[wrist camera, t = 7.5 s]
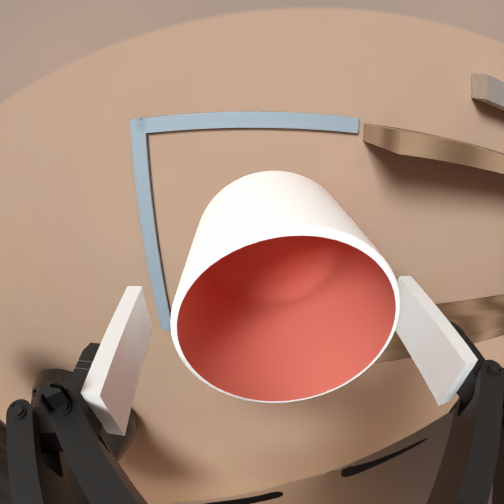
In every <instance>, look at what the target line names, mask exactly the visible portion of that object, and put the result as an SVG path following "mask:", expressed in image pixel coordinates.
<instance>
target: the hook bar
mask: <svg viewBox="0 0 504 504" xmlns="http://www.w3.org/2000/svg"><path fill="white" fill-rule="evenodd" d="M471 98H473V99H476V100H479V101H481V102H484V103H486V104H488V105H491V106H493V107H496V108H498V109H500V110H502V111H504V83H503V82H501V81H499V80H497V79H495V78H493V77H491V76H489V75H485V74H471Z"/></svg>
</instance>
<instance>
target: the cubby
mask: <svg viewBox="0 0 504 504" xmlns="http://www.w3.org/2000/svg"><path fill="white" fill-rule="evenodd" d="M363 141H365V142H368V143H370V144H373V145H376V146H379V147H381V148H384V149H387V150H389V151H392V152H394V153H397V154H401V155H409V156H415V157H422V158H428V159H434V160H440V161H446V162H451V163H456V164H461V165H466V166H471V167H476V168H480V169H485V170H489V171H493V172H497V173H501V174H504V154H503V153H500V152H497V151H493V150H490V149H487V148H483V147H480V146H476V145H473V144H469V143H465V142H461V141H457V140H453V139H449V138H445V137H440V136H436V135H431V134H426V133H421V132H416V131H410V130H405V129H399V128H393V127H387V126H380V125H373V124H365V123H364V136H363ZM435 305H436V306H437V307H438V308H439V310H440V311H441V312H442V313H443V315H444V316H445V317H446V318H447V319H448V321H449V322H454V323H455V324H457V325H458V326H459V327H460V328H461V329H462V330H463V331H464V333H465V334H466V335H467V336H468V338H469V339H470V341H471V342H472V343H477V342H481V341H484V340H488V339H491V338H495V337H498V336H502V335H504V294H503V295H497V296H491V297H485V298H478V299H472V300H465V301H457V302H450V303H442V304H435ZM409 357H411V355H410V354H409V352H408V350H407V349H406V347H405V345H404V344H403V342H402V340H401V339H400V337H399V336H398V334H397V332H396V331H395V332H394V334H393V337H392V338H391V340H390V342H389V344H388V346H387V347H386V348H385V350H384V351H383V353H382V354H381V355H380V357H379V358H378V359H377V360H376V361H375V362H374V363H379V362H385V361H392V360H398V359H404V358H409Z"/></svg>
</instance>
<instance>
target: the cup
mask: <svg viewBox="0 0 504 504" xmlns="http://www.w3.org/2000/svg"><path fill="white" fill-rule="evenodd" d="M399 314H400V292H399V287H398V283H397V280H396V277H395V275H394V273H393V271H392V269H391V267H390V266H389V265H388V263H387V262H386V260H385V259H384V258H383V256H382V255H381V254H380V253H379V251H378V250H377V249H376V248H375V246H374V245H373V244H372V243H371V241H370V240H369V239H368V238H367V237H366V235H365V234H364V233H363V232H362V231H361V229H360V228H359V227H358V226H357V225H356V224H355V222H354V221H353V220H352V219H351V218H350V216H349V215H348V214H347V213H346V212H345V211H344V210H343V208H342V207H341V206H340V205H339V204H338V203H337V202H336V201H335V199H334V198H333V197H332V196H331V195H330V194H329V193H328V192H327V191H326V190H325V189H324V188H323V187H321V186H320V185H318V184H317V183H315V182H314V181H312V180H310V179H308V178H306V177H303V176H301V175H298V174H294V173H291V172H284V171H264V172H258V173H254V174H250V175H247V176H244V177H242V178H240V179H238V180H236V181H234V182H232V183H231V184H229V185H228V186H226V187H225V188H224V189H222V190H221V191H220V192H219V193H218V194H217V195H216V196H215V197H214V198H213V199H212V201H211V202H210V203H209V205H208V206H207V208H206V210H205V211H204V213H203V215H202V218H201V220H200V223H199V226H198V229H197V231H196V234H195V237H194V240H193V243H192V246H191V249H190V252H189V255H188V258H187V261H186V264H185V267H184V270H183V273H182V276H181V279H180V283H179V286H178V289H177V292H176V295H175V298H174V302H173V305H172V310H171V319H170V324H171V334H172V339H173V342H174V345H175V348H176V350H177V352H178V354H179V356H180V358H181V359H182V361H183V362H184V364H185V365H186V366H187V367H188V369H189V370H190V371H191V372H192V373H193V374H194V375H195V376H197V377H198V378H199V379H200V380H201V381H203V382H204V383H206V384H207V385H209V386H210V387H212V388H214V389H216V390H218V391H220V392H222V393H225V394H227V395H230V396H233V397H236V398H240V399H244V400H248V401H254V402H264V403H285V402H294V401H301V400H306V399H310V398H314V397H317V396H320V395H323V394H326V393H329V392H331V391H333V390H336V389H338V388H340V387H342V386H344V385H345V384H347V383H349V382H350V381H352V380H354V379H355V378H357V377H358V376H359V375H361V374H362V373H363V372H364V371H366V370H367V369H368V368H369V367H370V366H371V365H372V364H373V363H374V362H375V361H376V360H377V359H378V358H379V357H380V355H381V354H382V353H383V351H384V350H385V348H386V347H387V346H388V344H389V342H390V340H391V338H392V337H393V334H394V332H395V329H396V327H397V323H398V320H399Z"/></svg>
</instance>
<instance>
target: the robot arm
mask: <svg viewBox="0 0 504 504" xmlns="http://www.w3.org/2000/svg"><path fill="white" fill-rule="evenodd" d="M397 283H398V287H399V292H400V314H399V320H398V323H397V327H396V329H395V331H396V332H397V334H398V336H399V337H400V339H401V340H402V342H403V344H404V345H405V347H406V349H407V350H408V352H409V354H410V355H411V357H412V359H413V361H414V362H415V364H416V366H417V367H418V369H419V371H420V373H421V374H422V376H423V378H424V380H425V382H426V383H427V385H428V387H429V389H430V391H431V392H432V394H433V396H434V398H435V400H436V402H437V404H438V405H442V404H445V403H447V402H450V401H451V400H452V399H453V397H454V396H455V395H456V393H457V394H458V396H459V399H458V400H457V402H456V403H455V404H454V406H453V407H452V408H451V410H450V412H449V413H452V411H453V410H454V409H455V413H454V417H453V422H452V426H451V430H450V434H449V438H448V442H447V445H446V449H445V453H444V456H443V459H442V462H441V465H440V468H439V471H438V474H437V477H436V480H435V483H434V485H433V488H432V491H431V493H430V496H429V499H428V501H427V503H426V504H487V503H488V499H489V495H490V491H491V486H492V482H493V495H492V504H504V368H502V367H501V366H500V365H499V364H498V363H497V362H495V361H493V360H485V359H484V357H483V356H482V355H481V353H480V352H479V351H478V349H477V348H476V347H475V345H474V344H473V343H472V342H471V341H470V339H469V338H468V336H467V335H466V334H465V333H464V331H463V330H462V329H461V328H460V327H459V326H458V325H457V324H455V323H454V322H449V321H448V319H447V318H446V317H445V316H444V315H443V313H442V312H441V311H440V310H439V308H438V307H437V306H436V305H435V304H434V302H433V301H432V300H431V299H430V298H429V297H428V295H427V294H426V293H425V292H424V291H423V290H422V288H421V287H420V286H419V285H418V284H417V283H416V282H415V280H414V279H413V278H412V277H411V276H399V278H398V282H397ZM151 332H152V326H151V322H150V318H149V314H148V310H147V306H146V301H145V297H144V293H143V288H142V286H128V287H127V289H126V291H125V293H124V295H123V297H122V299H121V301H120V303H119V305H118V307H117V309H116V311H115V313H114V315H113V318H112V320H111V322H110V324H109V326H108V328H107V331H106V333H105V335H104V337H103V340H102V342H101V344H97V343H90V344H89V345H88V346H87V347H86V348H85V349H84V350H83V352H82V354H81V356H80V358H79V361H78V362H77V365H76V369H74V371H73V373H71V372H67V371H63V370H56V369H49V370H45V371H42V372H41V373H40V374H39V376H38V378H37V380H36V381H35V383H34V385H33V389H32V400H31V405H30V403H29V402H28V401H26V400H24V399H19V400H16V401H14V402H13V403H12V404H10V406H9V408H8V409H7V414H6V424H5V423H4V422H2V421H1V420H0V504H147V502H146V501H145V500H144V498H143V497H142V496H141V494H140V493H139V492H138V490H137V489H136V488H135V486H134V485H133V483H132V482H131V481H130V479H129V478H128V476H127V475H126V473H125V472H124V470H123V469H122V467H121V466H120V464H119V463H118V461H119V459H120V458H121V457H122V455H123V454H124V452H125V451H126V449H127V448H128V447H129V445H130V444H131V442H132V441H133V439H134V437H135V433H136V428H137V418H136V416H135V414H134V413H133V411H132V410H131V407H132V403H133V399H134V395H135V391H136V387H137V383H138V379H139V375H140V371H141V367H142V364H143V360H144V356H145V353H146V349H147V346H148V342H149V339H150V335H151Z"/></svg>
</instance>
